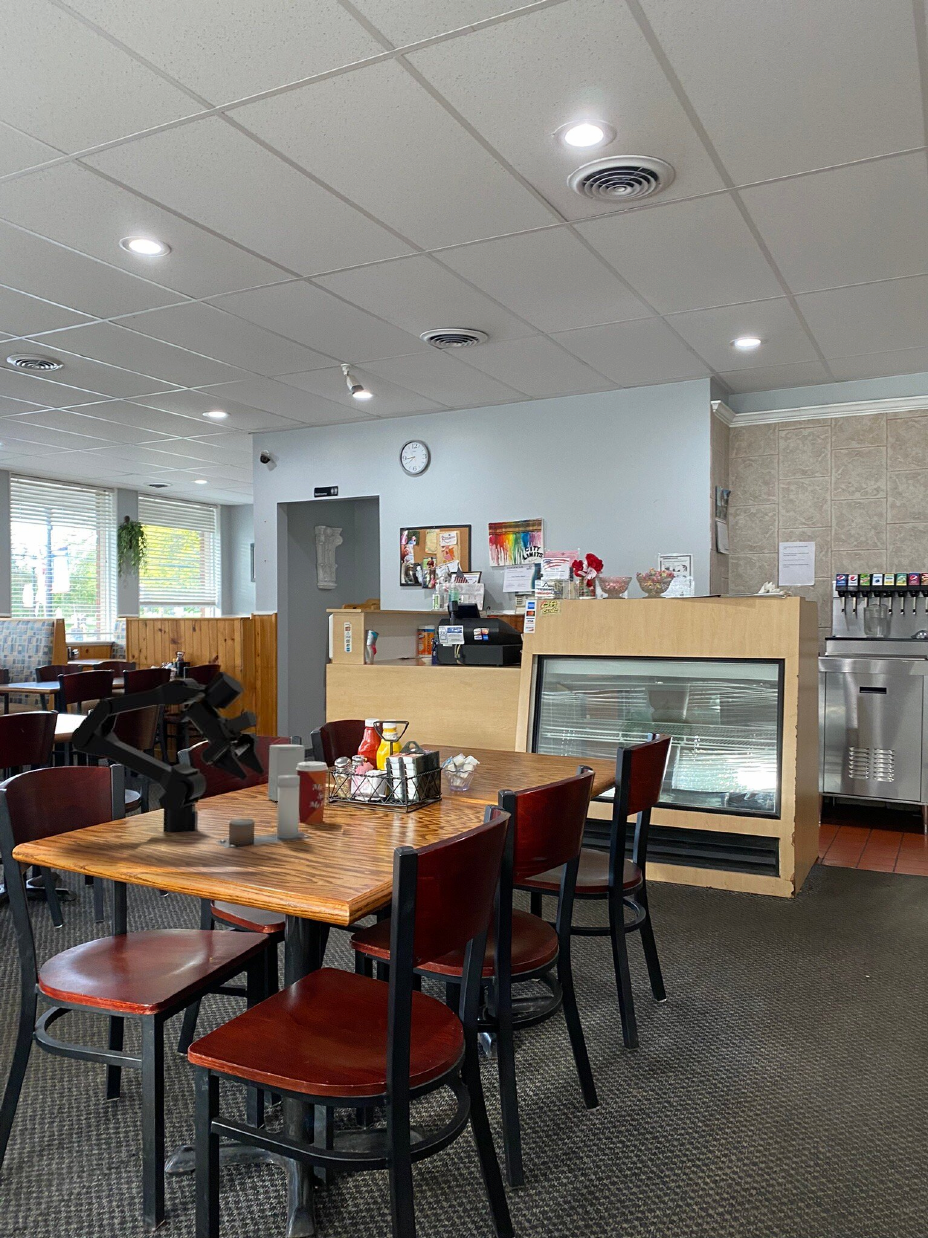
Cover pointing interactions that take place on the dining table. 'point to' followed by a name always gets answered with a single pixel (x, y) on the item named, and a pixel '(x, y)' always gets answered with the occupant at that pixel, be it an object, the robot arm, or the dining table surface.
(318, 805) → the paper cup
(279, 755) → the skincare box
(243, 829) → the grey short cylinder
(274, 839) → the plate
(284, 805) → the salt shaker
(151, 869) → the dining table surface
